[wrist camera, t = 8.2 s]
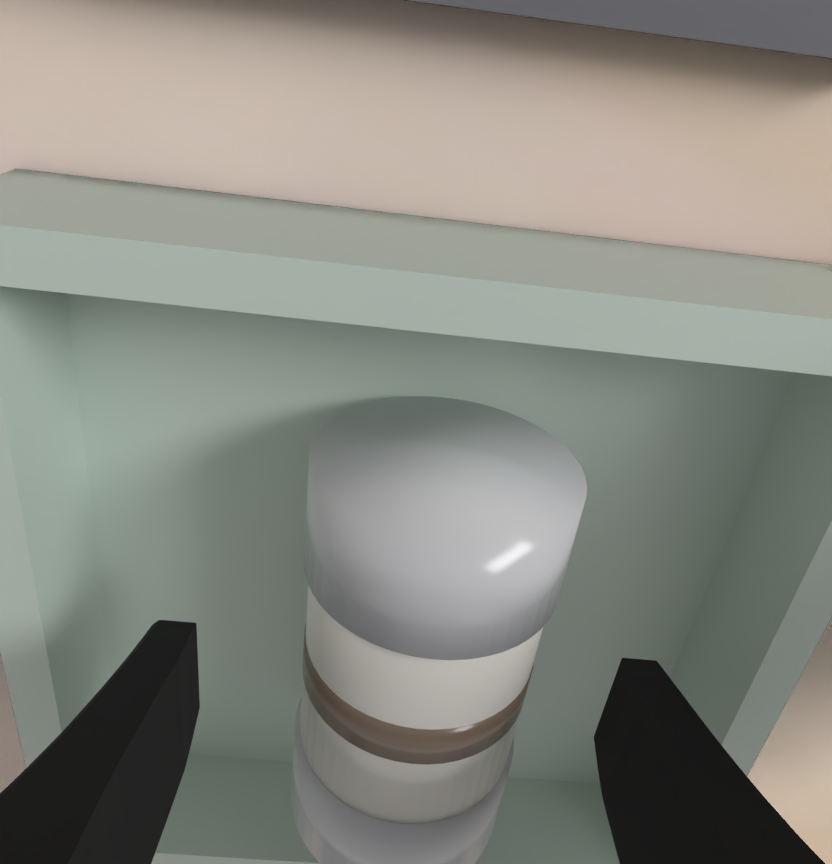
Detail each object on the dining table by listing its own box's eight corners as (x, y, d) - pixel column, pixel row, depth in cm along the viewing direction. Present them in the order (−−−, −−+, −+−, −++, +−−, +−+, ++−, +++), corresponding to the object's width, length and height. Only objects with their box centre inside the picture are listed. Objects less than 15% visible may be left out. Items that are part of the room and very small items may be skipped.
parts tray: (863, 268, 13) (981, 336, 10) (642, 785, 19) (678, 906, 17) (16, 168, 12) (-98, 214, 9) (99, 747, 19) (48, 867, 16)
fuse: (546, 403, 13) (627, 552, 10) (477, 704, 17) (516, 891, 14) (312, 389, 13) (305, 543, 9) (295, 705, 17) (285, 900, 13)
